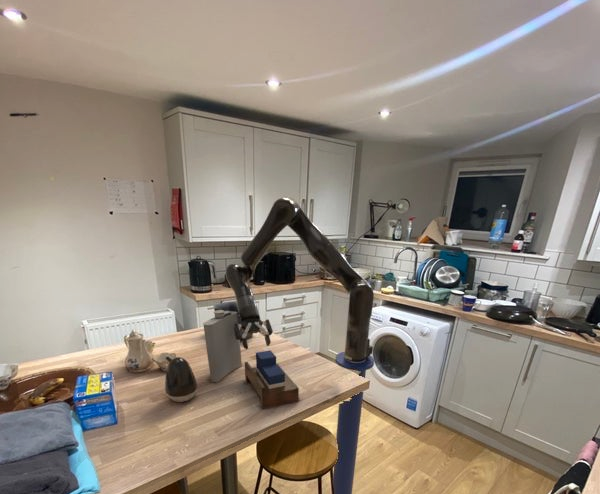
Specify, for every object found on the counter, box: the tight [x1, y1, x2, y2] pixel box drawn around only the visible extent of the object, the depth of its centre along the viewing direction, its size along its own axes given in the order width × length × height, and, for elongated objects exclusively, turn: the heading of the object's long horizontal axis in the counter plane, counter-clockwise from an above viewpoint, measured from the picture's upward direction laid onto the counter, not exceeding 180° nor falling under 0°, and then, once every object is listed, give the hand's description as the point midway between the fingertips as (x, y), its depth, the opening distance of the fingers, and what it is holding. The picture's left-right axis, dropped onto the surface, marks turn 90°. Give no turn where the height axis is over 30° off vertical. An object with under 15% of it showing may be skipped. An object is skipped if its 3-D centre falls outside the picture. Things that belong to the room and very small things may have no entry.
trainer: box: [255, 349, 286, 389], centre depth 117 cm, size 14×6×8 cm, turn 25°
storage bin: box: [212, 301, 254, 342], centre depth 165 cm, size 21×16×14 cm
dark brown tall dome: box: [164, 356, 198, 403], centre depth 112 cm, size 10×10×15 cm
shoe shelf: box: [244, 361, 300, 410], centre depth 119 cm, size 13×20×8 cm, turn 24°
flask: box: [202, 310, 243, 383], centre depth 127 cm, size 17×5×25 cm, turn 155°
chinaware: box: [123, 329, 177, 373], centre depth 134 cm, size 28×17×17 cm, turn 54°
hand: (257, 346), depth 127 cm, fingers open, 8 cm apart
